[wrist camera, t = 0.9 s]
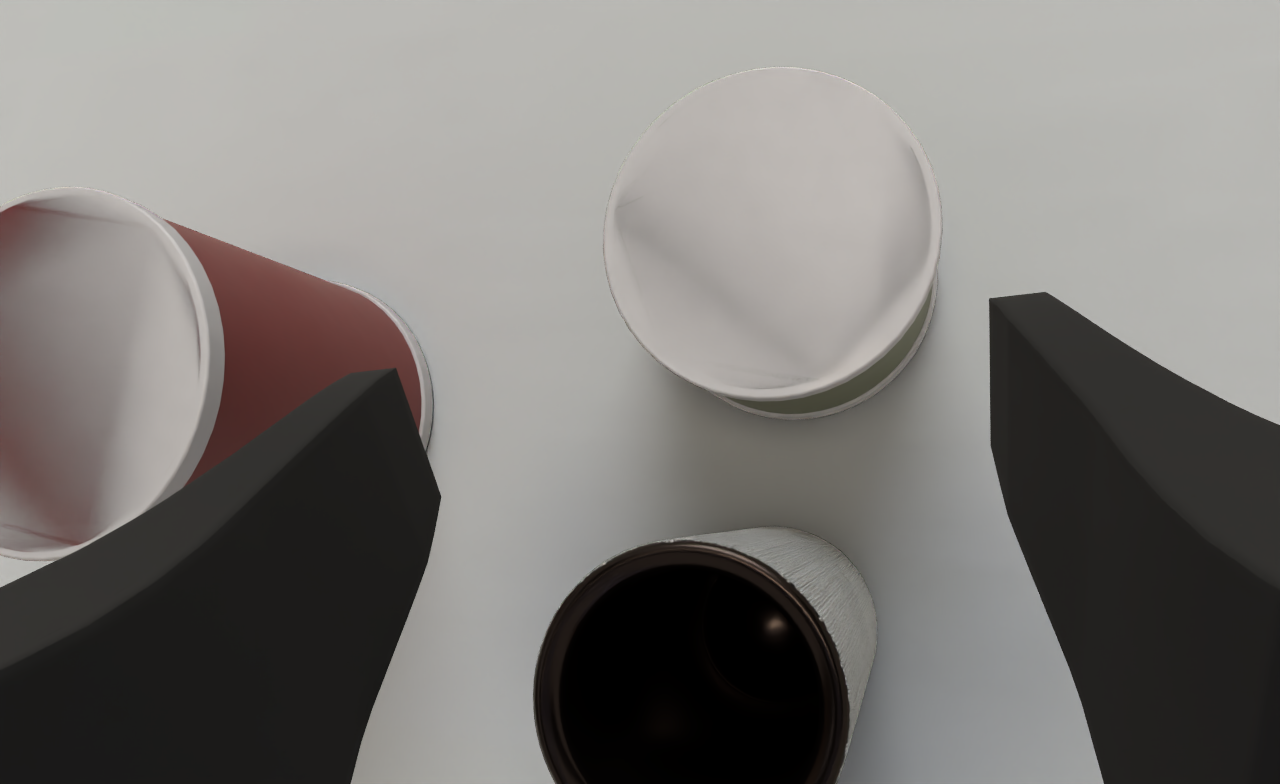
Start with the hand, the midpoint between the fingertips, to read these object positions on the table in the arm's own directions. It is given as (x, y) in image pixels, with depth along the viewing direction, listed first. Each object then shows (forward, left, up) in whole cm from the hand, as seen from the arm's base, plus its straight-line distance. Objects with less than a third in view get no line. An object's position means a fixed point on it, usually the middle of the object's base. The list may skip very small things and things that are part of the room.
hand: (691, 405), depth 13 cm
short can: (+4, 0, -12) cm, 13 cm away
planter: (-4, +1, -13) cm, 13 cm away
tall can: (+2, +13, -12) cm, 18 cm away
